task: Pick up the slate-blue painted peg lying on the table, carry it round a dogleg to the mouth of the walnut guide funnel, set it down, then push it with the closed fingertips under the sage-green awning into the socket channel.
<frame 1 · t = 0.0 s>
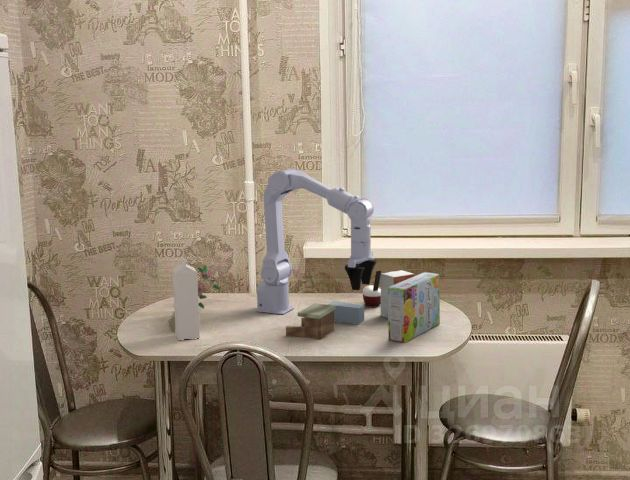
hand: (360, 286, 231), 10 cm above the table, tool pointing down, fingers open, 7 cm apart
flower vase: (190, 316, 241), on the table
awning socket: (311, 332, 222), on the table
milk: (187, 337, 219), on the table
peg: (346, 321, 233), on the table
cocoa: (372, 306, 250), on the table
snack box: (414, 333, 221), on the table
small box: (397, 316, 238), on the table
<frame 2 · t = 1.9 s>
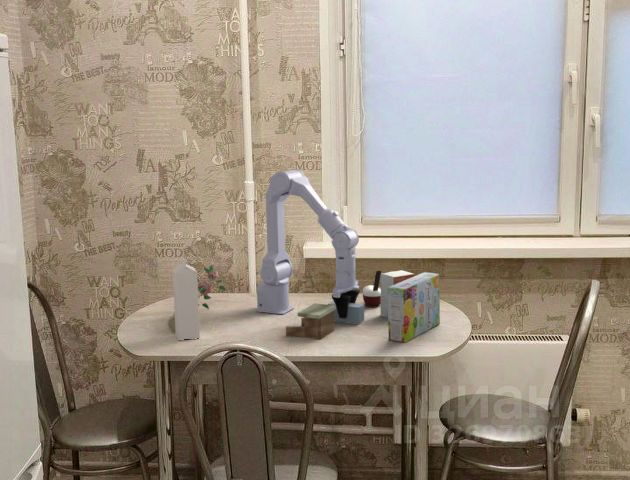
hand: (345, 315, 233), 1 cm above the table, tool pointing down, fingers closed on peg, 4 cm apart
flower vase: (193, 316, 240), on the table
peg: (346, 320, 233), on the table, touching gripper
everything else where it was.
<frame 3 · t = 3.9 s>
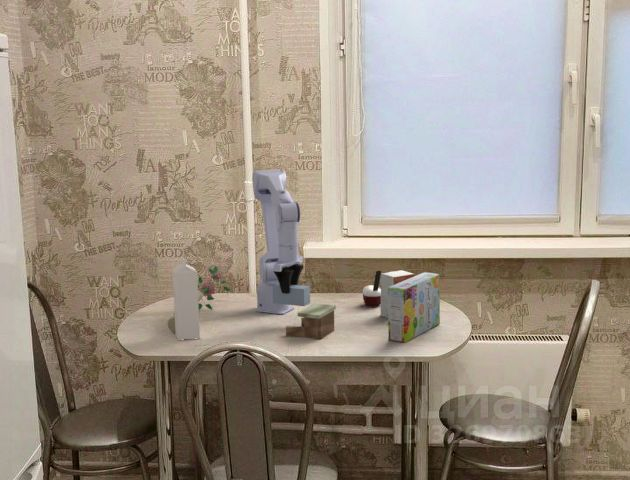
hand: (289, 291, 228), 10 cm above the table, tool pointing down, fingers closed on peg, 4 cm apart
flower vase: (195, 317, 240), on the table
peg: (291, 303, 228), point 7 cm above the table, touching gripper
everything else where it was.
when the fingers open (3 cm above the table, at t = 5.9 s): peg stays where it is, on the table.
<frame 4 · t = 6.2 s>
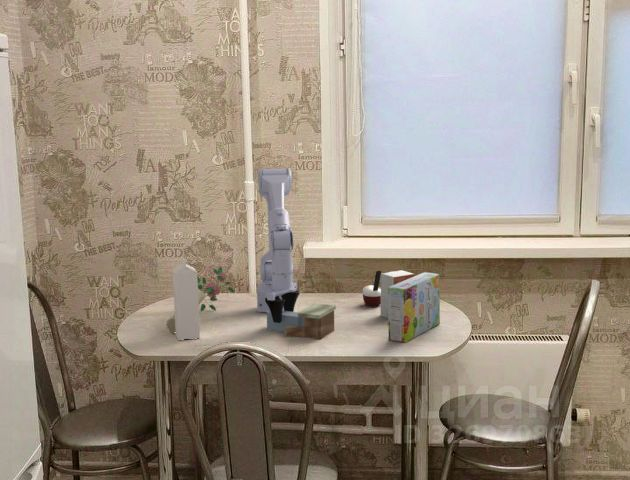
hand: (283, 319, 225), 3 cm above the table, tool pointing down, fingers open, 6 cm apart
flower vase: (197, 318, 239), on the table
peg: (285, 330, 225), on the table
everything else where it was.
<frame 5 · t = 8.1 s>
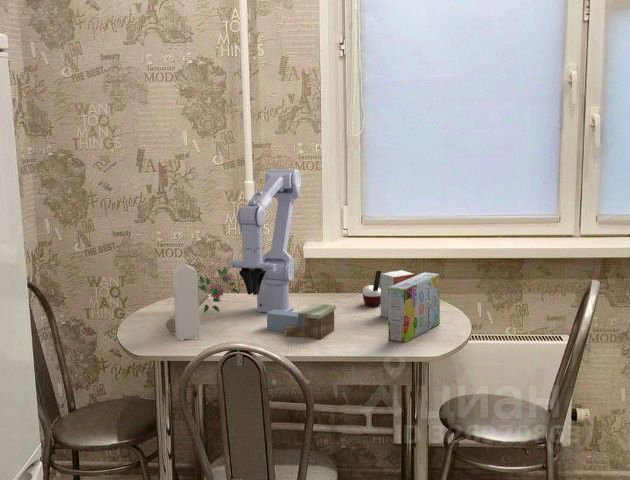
hand: (253, 293, 228), 9 cm above the table, tool pointing down, fingers closed
flower vase: (199, 319, 238), on the table
everything else where it was.
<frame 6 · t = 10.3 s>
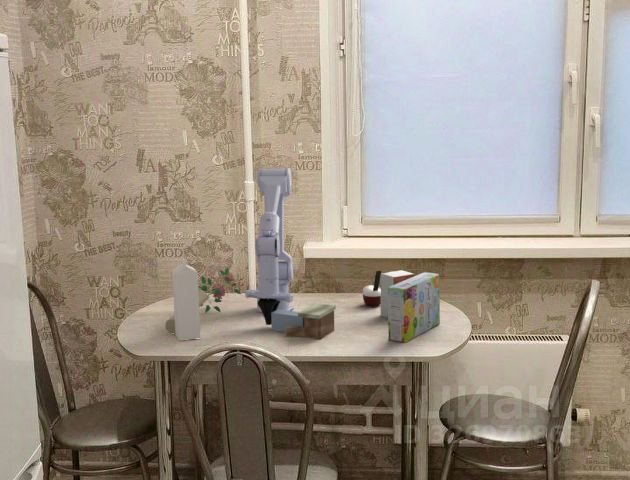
hand: (269, 323, 227), 1 cm above the table, tool pointing down, fingers closed
peg: (290, 330, 224), on the table, touching gripper
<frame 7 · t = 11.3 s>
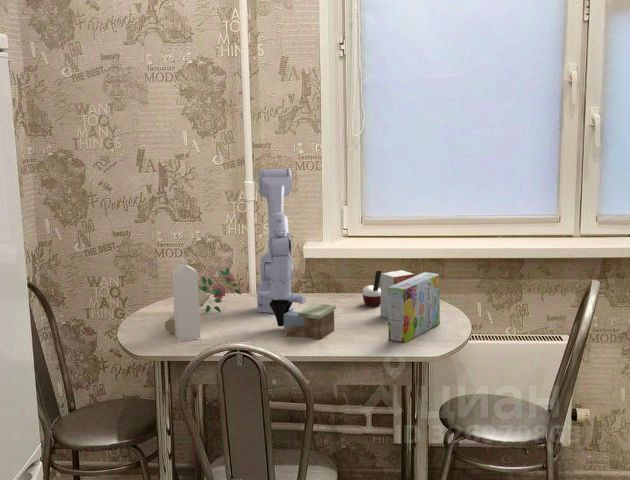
hand: (281, 325, 225), 1 cm above the table, tool pointing down, fingers closed
peg: (302, 331, 223), on the table, touching gripper
everything else where it was.
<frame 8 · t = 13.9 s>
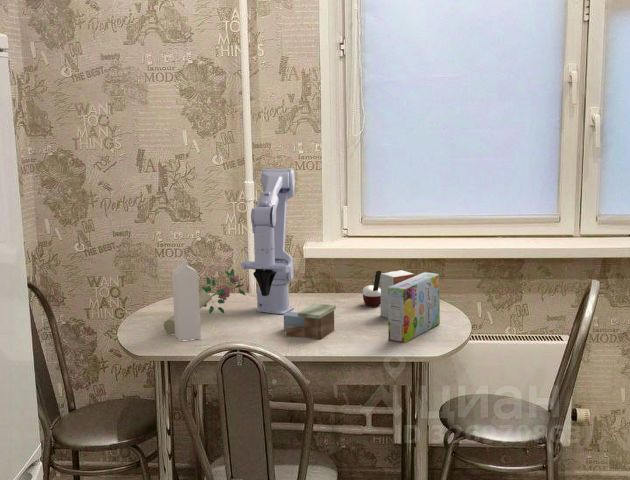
hand: (265, 295, 226), 9 cm above the table, tool pointing down, fingers closed
flower vase: (202, 320, 236), on the table
peg: (303, 332, 223), on the table
everything else where it was.
at the end: peg 0.6 cm from the target spot, on the table; peg tilted 0°; the gripper is holding nothing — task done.
